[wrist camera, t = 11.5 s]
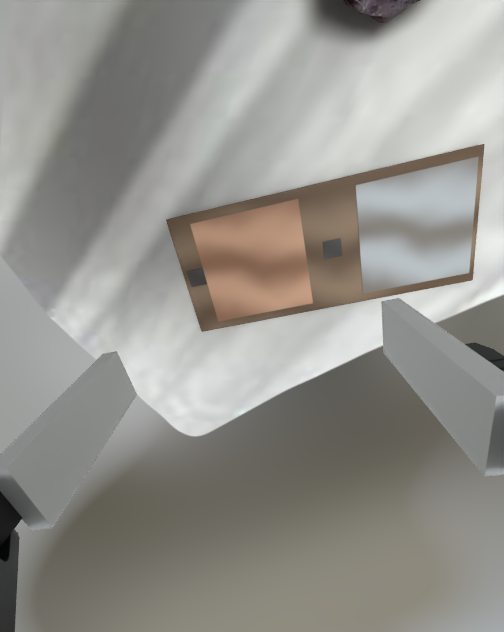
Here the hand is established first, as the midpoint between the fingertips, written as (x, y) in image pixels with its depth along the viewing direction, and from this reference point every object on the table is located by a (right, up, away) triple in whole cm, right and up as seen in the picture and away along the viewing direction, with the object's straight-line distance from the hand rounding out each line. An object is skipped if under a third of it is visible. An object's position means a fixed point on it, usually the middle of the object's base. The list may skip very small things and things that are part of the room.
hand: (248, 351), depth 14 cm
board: (+8, +9, +18) cm, 22 cm away
